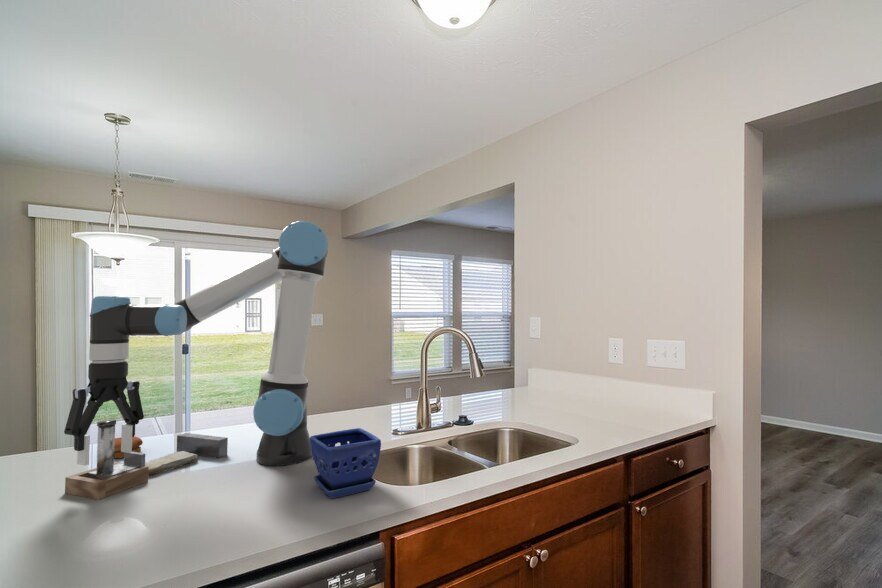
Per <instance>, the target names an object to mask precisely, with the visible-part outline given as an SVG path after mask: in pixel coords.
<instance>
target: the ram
mask: <svg viewBox="0 0 882 588" xmlns="http://www.w3.org/2000/svg"><path fill="white" fill-rule="evenodd" d="M116 425H117V420H116V419H105V420H99V421H97V422H96V426H97V447H96V449H97V451H96V468H97V470H96V471H92V472H89V473H88V478H92V479H97V480H103V479H106V478H109V477H112V476H115V475H118V474H121V473H124V472H127V471H130V470H133V469H136V468H139V467H142V466H145V462H146V453H145V452H140V453H138V452H130V453H127V452H124V458H123V461H122V462H121V463H118V464H115V465H114V462H115V458H114V442H115V438H116V437H115V436H116V435H115V434H116Z"/></svg>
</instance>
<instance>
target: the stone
mask: <svg viewBox="0 0 882 588" xmlns="http://www.w3.org/2000/svg"><path fill="white" fill-rule="evenodd" d="M198 457H199V456H198V455H197V454H193V453H188V452H185V451H180V452H177V451H175V452H172V453H170V454H167V455H164V456H161V457H158V458H155V459H151V460H149V461H145V466H148V467H149V470H148V476H150V475H154V474H155V475H156V474H158V473H161V472H162V473H163V472H165V470H166V471H170V470H172V468H173V469H176V468H179V467H181V466H184V465H186V464H192V463H195V462H198Z"/></svg>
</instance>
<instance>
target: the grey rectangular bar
mask: <svg viewBox="0 0 882 588" xmlns="http://www.w3.org/2000/svg"><path fill="white" fill-rule="evenodd" d="M228 444H229V443H228V437H225V436H224V437H223V436H215V435H208V434H207V435H206V434H199V433H190V432H189V433H188V432H185V433H181V434H178V435H176V452H180V451H185V452H188V453H193V454H197V455H198V456H197V457H204V458H213V459H222V458H224V457H227V456H228Z"/></svg>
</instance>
